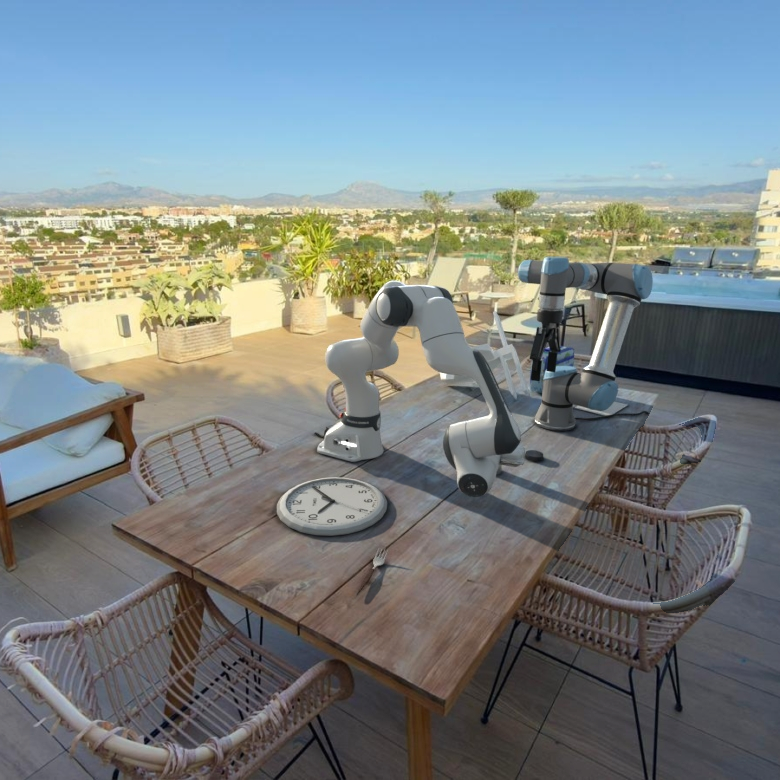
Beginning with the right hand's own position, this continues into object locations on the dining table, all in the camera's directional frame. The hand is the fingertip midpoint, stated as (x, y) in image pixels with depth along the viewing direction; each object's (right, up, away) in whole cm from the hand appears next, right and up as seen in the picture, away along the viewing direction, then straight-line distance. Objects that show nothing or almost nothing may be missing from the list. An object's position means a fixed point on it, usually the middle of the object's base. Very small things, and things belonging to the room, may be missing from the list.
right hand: (543, 375), depth 166 cm
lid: (-1, -26, +8) cm, 27 cm away
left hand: (-20, -19, -16) cm, 32 cm away
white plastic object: (-7, -6, +77) cm, 78 cm away
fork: (-53, -45, -51) cm, 86 cm away
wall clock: (-65, -36, -23) cm, 78 cm away
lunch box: (+27, -5, +82) cm, 87 cm away
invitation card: (+43, -12, +60) cm, 75 cm away
